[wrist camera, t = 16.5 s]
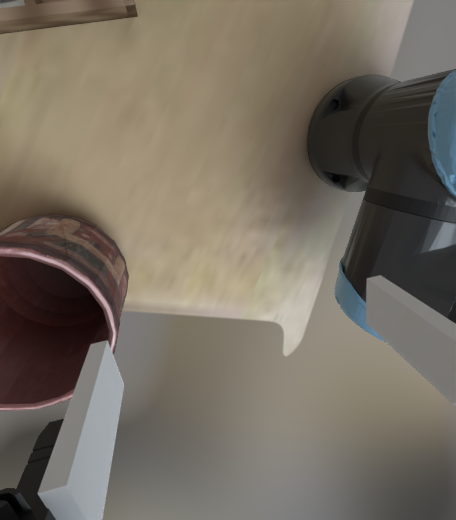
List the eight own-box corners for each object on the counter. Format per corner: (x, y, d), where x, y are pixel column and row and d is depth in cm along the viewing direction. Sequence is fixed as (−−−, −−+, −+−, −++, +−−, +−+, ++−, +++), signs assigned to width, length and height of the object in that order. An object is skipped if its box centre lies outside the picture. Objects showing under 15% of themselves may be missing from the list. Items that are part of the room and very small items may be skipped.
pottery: (10, 181, 39) (-102, 216, 23) (148, 224, 44) (138, 278, 28) (-10, 301, 44) (-113, 399, 28) (116, 327, 50) (91, 424, 33)
